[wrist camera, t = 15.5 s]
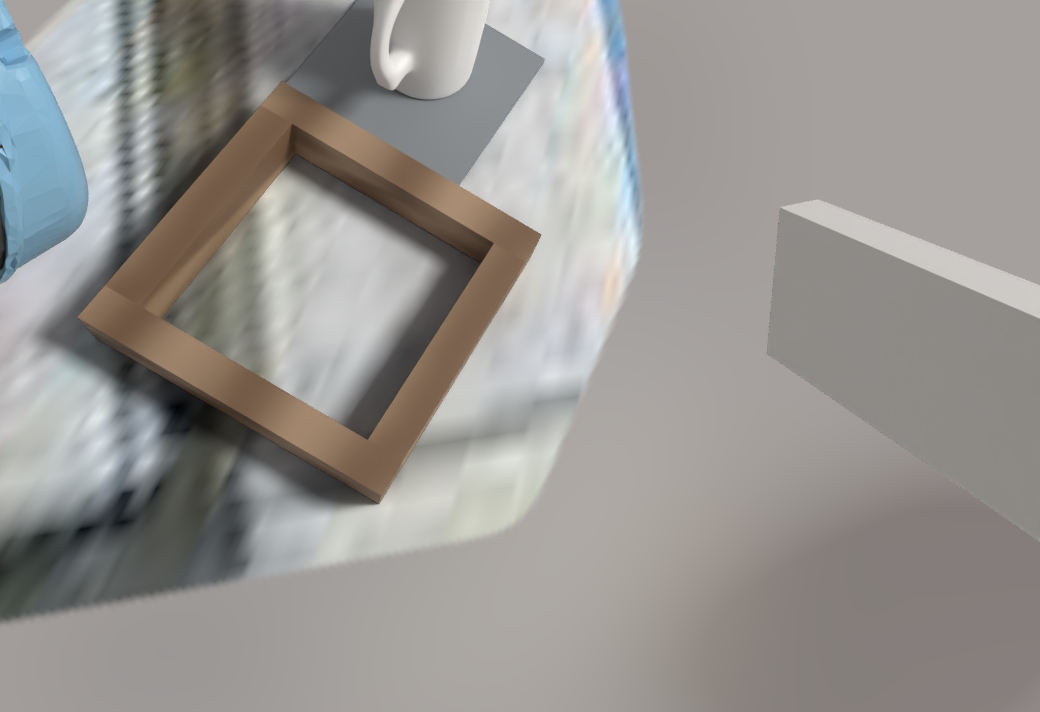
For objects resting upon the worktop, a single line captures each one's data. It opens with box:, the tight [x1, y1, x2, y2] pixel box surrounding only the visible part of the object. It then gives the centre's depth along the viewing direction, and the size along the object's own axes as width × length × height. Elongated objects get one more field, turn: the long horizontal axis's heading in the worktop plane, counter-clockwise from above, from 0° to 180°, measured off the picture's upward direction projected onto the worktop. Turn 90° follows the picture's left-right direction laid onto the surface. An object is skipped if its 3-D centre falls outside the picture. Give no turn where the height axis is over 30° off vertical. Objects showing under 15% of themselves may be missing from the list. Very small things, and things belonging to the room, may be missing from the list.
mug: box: [370, 0, 491, 100], centre depth 43 cm, size 10×7×12 cm, turn 153°
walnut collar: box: [77, 81, 541, 504], centre depth 43 cm, size 17×17×3 cm
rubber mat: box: [286, 0, 545, 186], centre depth 49 cm, size 12×12×1 cm
